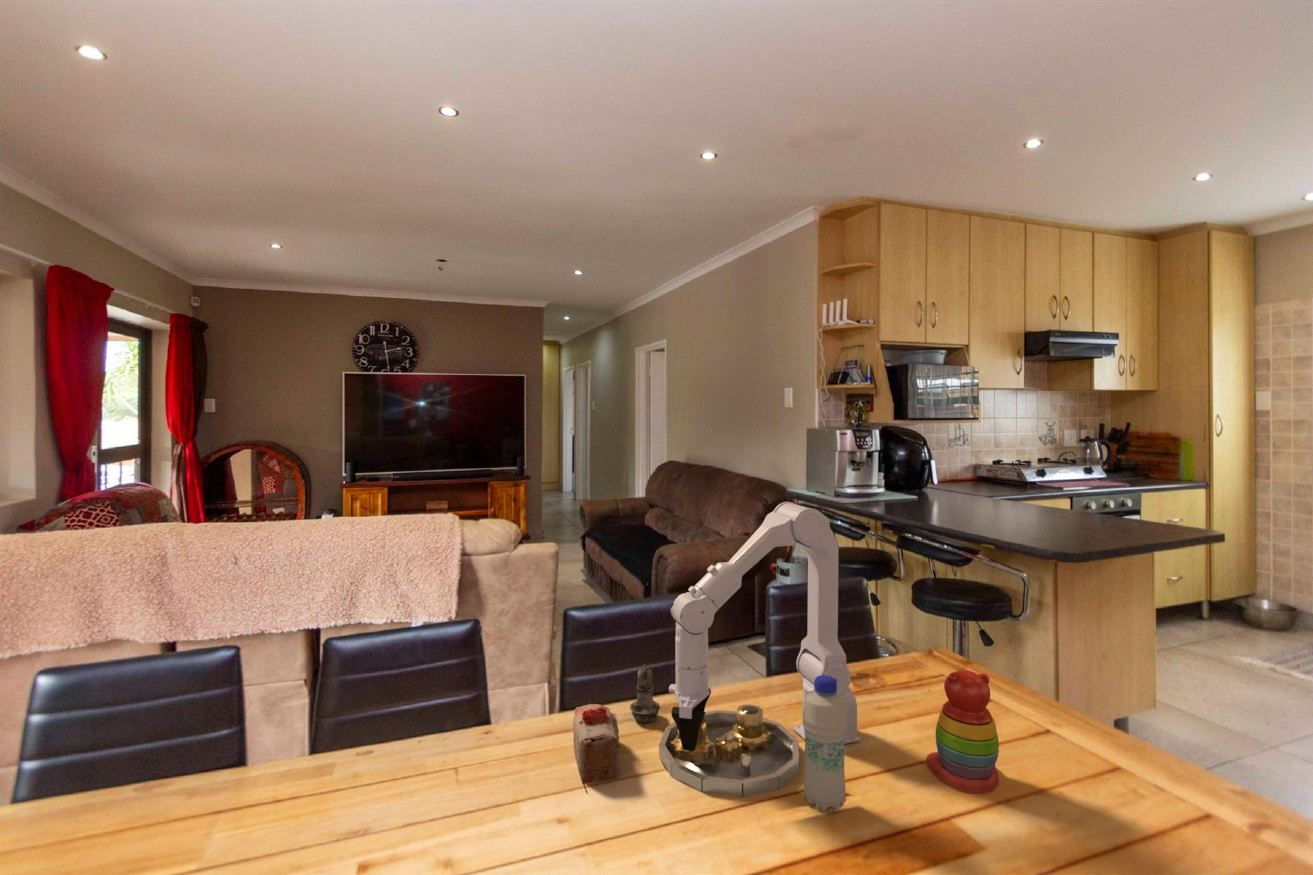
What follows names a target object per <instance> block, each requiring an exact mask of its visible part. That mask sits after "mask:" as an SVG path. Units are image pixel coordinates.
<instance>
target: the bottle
mask: <svg viewBox="0 0 1313 875" xmlns="http://www.w3.org/2000/svg"><path fill="white" fill-rule="evenodd" d="M802 725H803V726H804V728H805V739H804V771H803V785H802V786H803V788H802V789H803V794H804V795H805V798H806V800H807V802H808V803H809V806H810V808H812V809H816V807H817V806H818V808H819V810H820V812H821V813H826V811H827V809H828V808H830V811H831V812H832V813H836V812H837V811H839V809H840V808H841V807H843V805H844V803H845V801H846V776H845V774H846V773H845V745H846V744H845V735H844V734H845V732H846V730H847V726H846V725H847V715H846V707H845V700H844V698H843V697H842V696H841V695H840V694H838V693H837V683H836V680H835V679H834V678H833V677H831V676H828V675H820V676H817V677H816V678H815V681H814V690H813V691H810V692H808V693H807V694H806V696H805V702H804V709H803V708H802Z"/></svg>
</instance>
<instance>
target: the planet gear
mask: <svg viewBox="0 0 1313 875" xmlns="http://www.w3.org/2000/svg"><path fill="white" fill-rule="evenodd" d="M671 750H673V751H674V753H675V757H677V758H682V759H686V760H689V761H695V760H700V759H707V758H709V754H710V753H711V752H713V742H710V740H709V737H708V736H706V720H705V719H704V718H703V720H702V722H701V724H700V727H699V732H698V739H697V744H696V748H695V751H691V750H683V747H682V744H681V739H680V735H679V730H678V735H677V736H676V738H675V739H674V740H673V741H671Z"/></svg>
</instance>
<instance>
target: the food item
mask: <svg viewBox="0 0 1313 875" xmlns="http://www.w3.org/2000/svg"><path fill="white" fill-rule="evenodd" d="M611 710H612V708H609V707H608V706H605V705H602V704H595V703H588V704H585V705H582V706H576V707H575V710H574V716H573V724H572V725H573V726H572V727H573V730H572V731H573V749H574V756H575V759H576V764H577V771H578V773H579V774H578V775H579V777H580V781H581V784H582V786H583V788H584V789H587V787H586V784H585V783H596V782H597V783H598V782H603V781H609V780H614V779H619V778H620V777H621V774H620V769H621V761H620V758H621V757H620V753H621V750H620V748H621V747H620V735H619V733H620V731H619V726H618V721H619V720H618V717H617V715H616V712H615V713H614V712H611Z"/></svg>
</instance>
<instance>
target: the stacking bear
mask: <svg viewBox="0 0 1313 875" xmlns="http://www.w3.org/2000/svg"><path fill="white" fill-rule="evenodd" d="M989 683H990V677H989V675H988V674H986V673H984V672H981V673H979V674H978V673H976V672H974V671H971V670H966V669H965V670H956V671H953V672H951V673H949V674H948V676H947V677H946V678H945V680H944V683H943V688H944V692H945V695H946V697H947V701H946V702H944V703H943V705H942V709H941V710H940V712H939V715H938V720H937V722H936V727H935V744H936V748H937V751H934V752H933V751H932V752H930V753H928V755H927V756H926V758H925V764H926V766H927V768H928V769H929V770H930V772H931V773H932V775H934V776H935V778H937V779H938V780H940V781H941V782H942V783H944V784H946V785H947V786H949V787H950V788H953V789H955V790H958V791H960V792H965V793H969V794H976V795H977V794H979V795H980V794H981V795H982V794H987V793H991V792H993V791H995V789H997V787H998V785H999V772H998V768H997V767H996V763H997V761H998V758H999V753H1000V751H999V750H1000V749H999V747H1000V742H999V735H998V731H997V725H996V721H995V718H993V716H992V714H991V712H990V711H989V709H988V708H987V706H988V705H989V702H990V699H991V689H990V686H989Z"/></svg>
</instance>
